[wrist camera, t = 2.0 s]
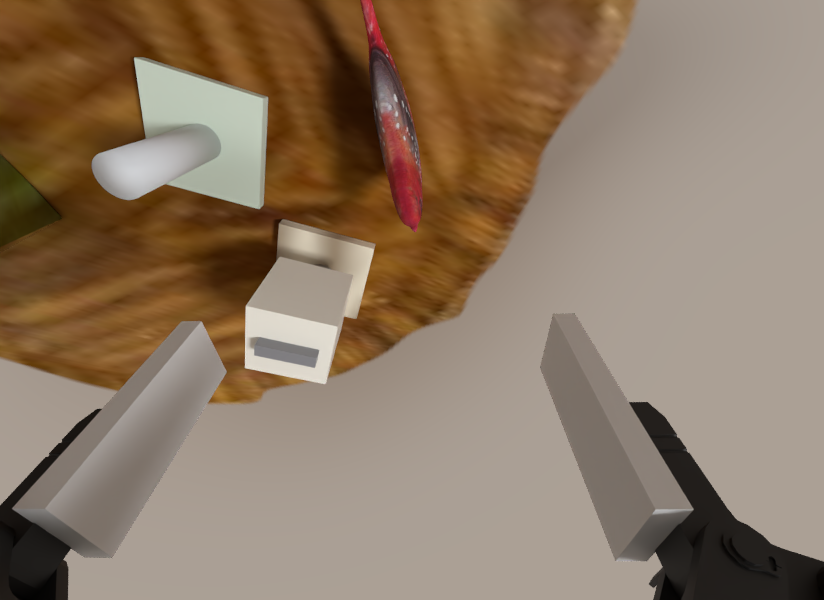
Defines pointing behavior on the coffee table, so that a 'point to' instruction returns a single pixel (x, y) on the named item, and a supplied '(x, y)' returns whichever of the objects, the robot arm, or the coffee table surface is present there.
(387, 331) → the coffee table surface
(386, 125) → the decorative bird figurine
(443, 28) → the coffee table surface
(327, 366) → the white drawer box
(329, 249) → the post
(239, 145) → the post
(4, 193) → the sailboat water diorama
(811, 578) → the robot arm
